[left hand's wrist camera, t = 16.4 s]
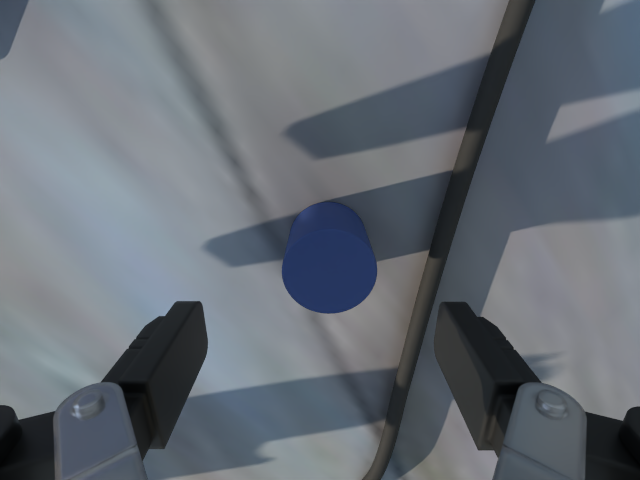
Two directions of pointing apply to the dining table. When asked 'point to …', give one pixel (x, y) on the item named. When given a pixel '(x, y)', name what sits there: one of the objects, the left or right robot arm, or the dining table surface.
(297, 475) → the dining table surface
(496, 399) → the left robot arm
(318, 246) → the can
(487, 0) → the dining table surface
